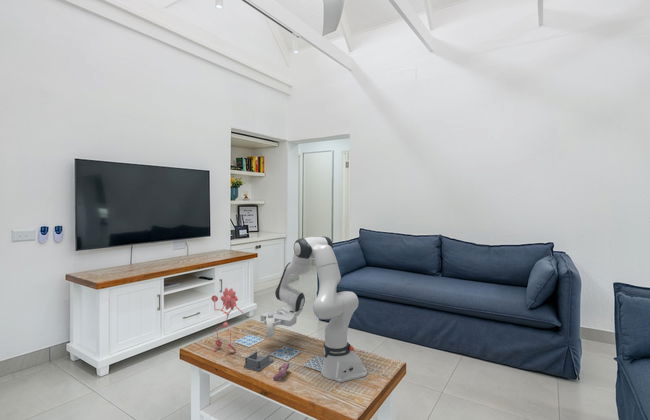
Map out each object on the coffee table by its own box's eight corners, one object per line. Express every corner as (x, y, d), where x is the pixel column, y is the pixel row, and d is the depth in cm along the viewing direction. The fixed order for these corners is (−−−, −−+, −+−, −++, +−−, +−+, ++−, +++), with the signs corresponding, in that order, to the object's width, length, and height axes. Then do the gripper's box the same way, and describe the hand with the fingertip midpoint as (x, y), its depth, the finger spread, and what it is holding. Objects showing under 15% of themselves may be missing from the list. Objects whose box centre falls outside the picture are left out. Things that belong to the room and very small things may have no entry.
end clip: (258, 357, 173) (258, 348, 173) (273, 361, 169) (273, 352, 169) (243, 367, 163) (244, 358, 162) (259, 371, 158) (259, 362, 158)
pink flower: (235, 360, 169) (237, 293, 170) (203, 348, 183) (204, 287, 183) (256, 350, 183) (257, 288, 183) (224, 339, 196) (225, 282, 196)
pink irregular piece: (280, 385, 150) (286, 372, 149) (271, 379, 151) (278, 367, 150) (286, 374, 160) (292, 362, 159) (278, 369, 160) (284, 357, 160)
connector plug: (274, 333, 177) (274, 312, 177) (274, 337, 173) (274, 314, 173) (266, 334, 176) (266, 312, 176) (266, 337, 172) (266, 315, 172)
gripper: (268, 307, 190) (254, 314, 178) (298, 312, 182) (285, 320, 169) (268, 318, 191) (253, 326, 178) (298, 323, 182) (285, 332, 169)
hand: (269, 323), depth 174 cm, fingers closed on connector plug, 4 cm apart
